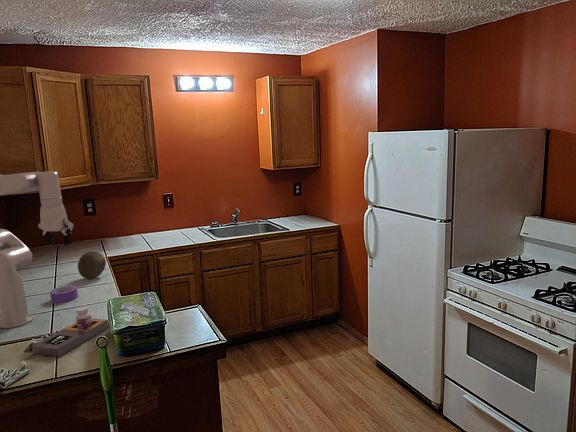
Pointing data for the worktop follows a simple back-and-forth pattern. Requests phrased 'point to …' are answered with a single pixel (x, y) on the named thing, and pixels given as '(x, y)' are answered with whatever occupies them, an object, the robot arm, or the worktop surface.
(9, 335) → the worktop surface
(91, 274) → the cantaloupe
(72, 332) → the hole rail
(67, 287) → the tape roll
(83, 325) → the pill bottle
